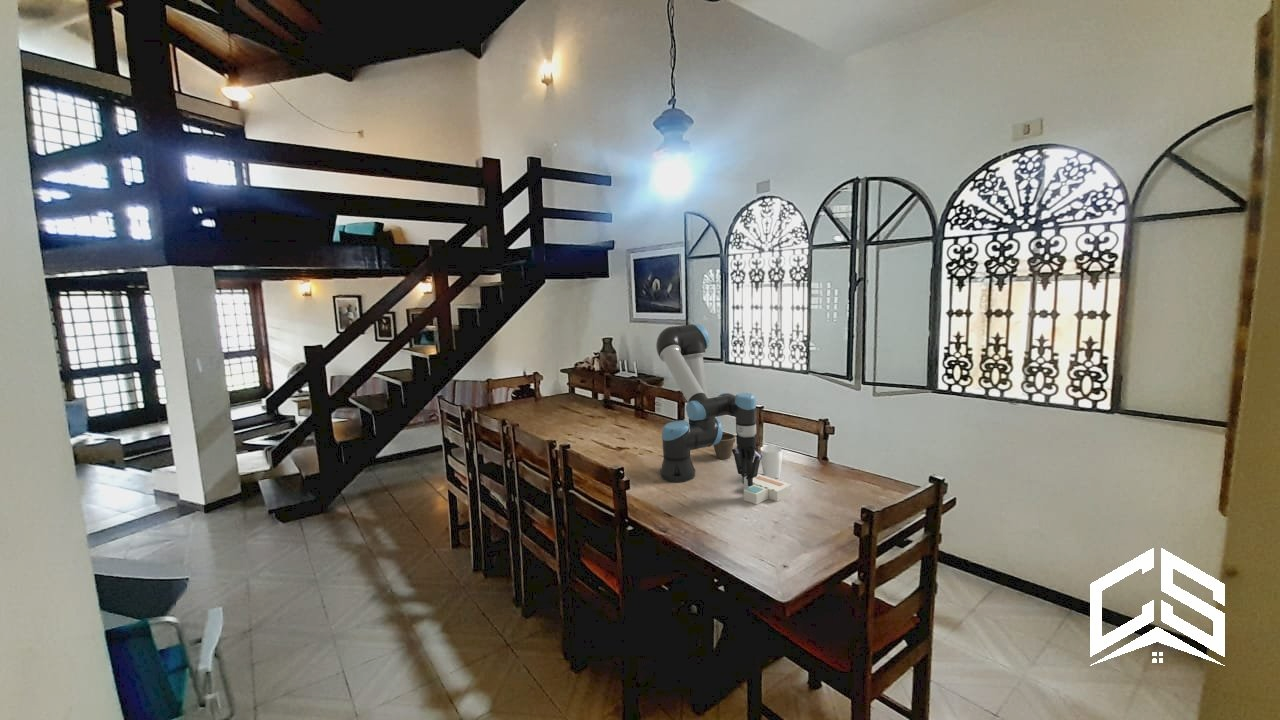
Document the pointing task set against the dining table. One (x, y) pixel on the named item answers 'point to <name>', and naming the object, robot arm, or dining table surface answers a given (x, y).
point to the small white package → (773, 487)
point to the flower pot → (725, 446)
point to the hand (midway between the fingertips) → (747, 492)
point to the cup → (771, 461)
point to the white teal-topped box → (756, 494)
